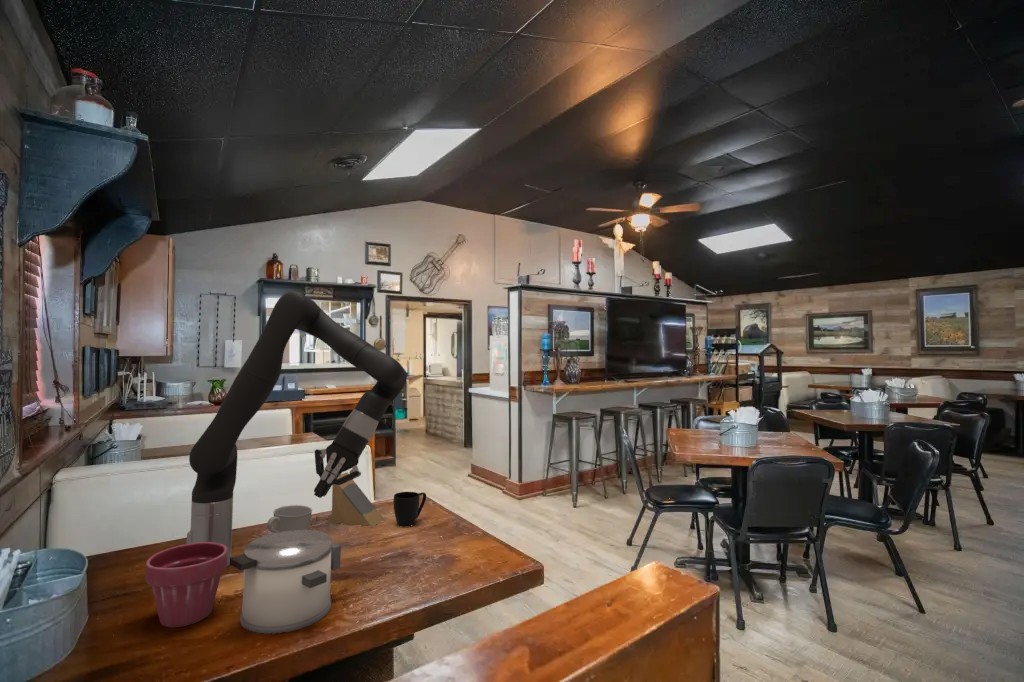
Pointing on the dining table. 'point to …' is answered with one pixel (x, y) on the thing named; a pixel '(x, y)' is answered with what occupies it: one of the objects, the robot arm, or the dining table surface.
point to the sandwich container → (352, 505)
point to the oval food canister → (288, 595)
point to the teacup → (290, 518)
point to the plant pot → (186, 581)
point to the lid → (284, 550)
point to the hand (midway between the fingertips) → (317, 496)
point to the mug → (407, 507)
